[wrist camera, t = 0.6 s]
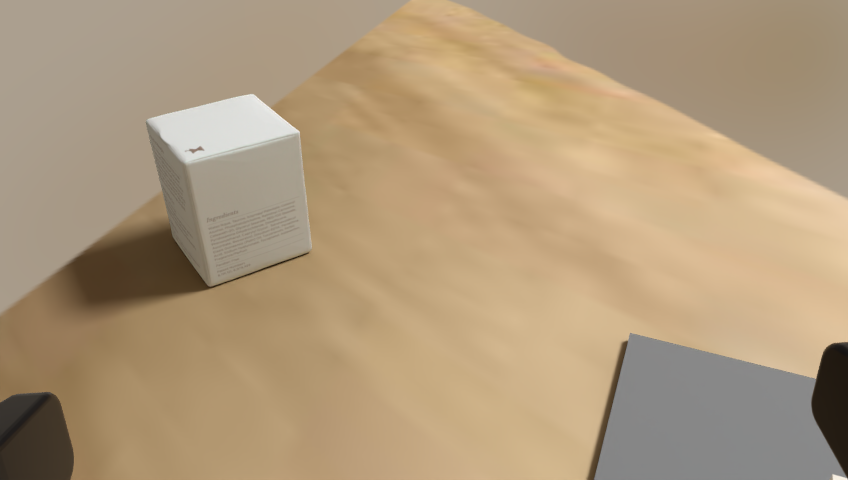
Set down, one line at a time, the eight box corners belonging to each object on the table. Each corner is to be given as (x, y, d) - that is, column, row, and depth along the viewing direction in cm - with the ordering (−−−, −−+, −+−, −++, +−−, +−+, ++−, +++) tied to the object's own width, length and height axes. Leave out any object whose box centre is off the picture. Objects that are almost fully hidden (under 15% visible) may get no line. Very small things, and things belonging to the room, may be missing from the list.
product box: (315, 254, 39) (303, 131, 35) (207, 291, 36) (179, 163, 32) (270, 205, 43) (254, 91, 39) (170, 236, 40) (141, 116, 36)
